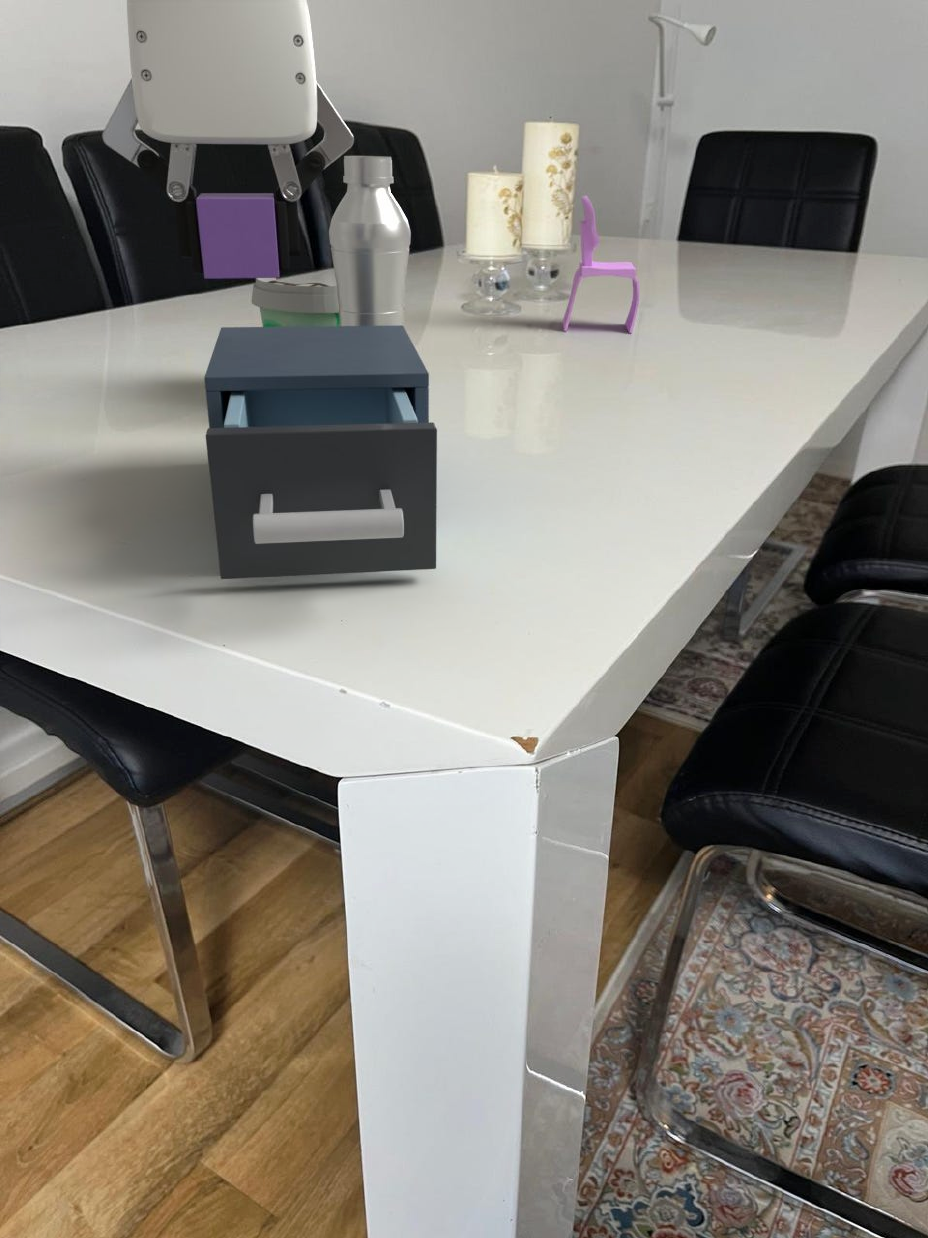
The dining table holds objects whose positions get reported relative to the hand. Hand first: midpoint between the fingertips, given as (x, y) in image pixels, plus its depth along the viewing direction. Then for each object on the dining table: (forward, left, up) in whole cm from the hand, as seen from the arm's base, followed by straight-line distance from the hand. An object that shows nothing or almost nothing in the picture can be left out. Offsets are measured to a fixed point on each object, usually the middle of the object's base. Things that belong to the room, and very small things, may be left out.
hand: (242, 267), depth 59 cm
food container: (+15, +20, -14) cm, 28 cm away
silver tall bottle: (+16, +10, -14) cm, 23 cm away
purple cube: (0, 0, 0) cm, 0 cm away
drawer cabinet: (+3, -3, -14) cm, 15 cm away
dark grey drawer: (-3, -13, -13) cm, 19 cm away
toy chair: (+62, +28, -14) cm, 69 cm away
